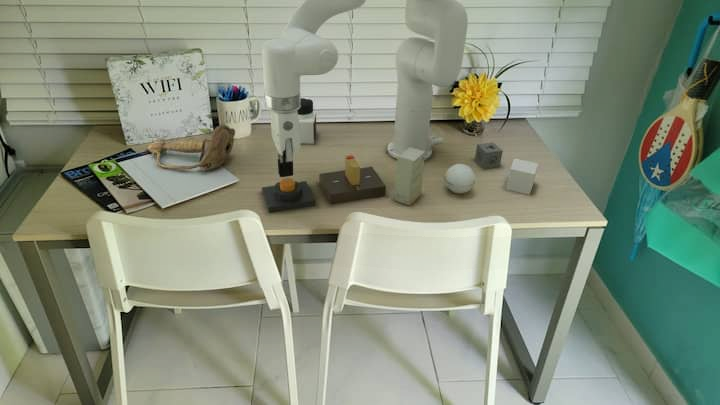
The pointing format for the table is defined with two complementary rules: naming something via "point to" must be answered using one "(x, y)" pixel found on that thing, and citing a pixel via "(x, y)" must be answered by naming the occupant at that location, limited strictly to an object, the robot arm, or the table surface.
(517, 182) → the light grey cube
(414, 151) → the cosmetic box
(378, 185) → the plate
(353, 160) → the lock turn
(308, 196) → the black knob base
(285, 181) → the bell button
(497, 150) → the dice cube
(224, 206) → the table surface
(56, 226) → the table surface
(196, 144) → the sword hilt
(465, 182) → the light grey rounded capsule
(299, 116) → the medicine bottle
